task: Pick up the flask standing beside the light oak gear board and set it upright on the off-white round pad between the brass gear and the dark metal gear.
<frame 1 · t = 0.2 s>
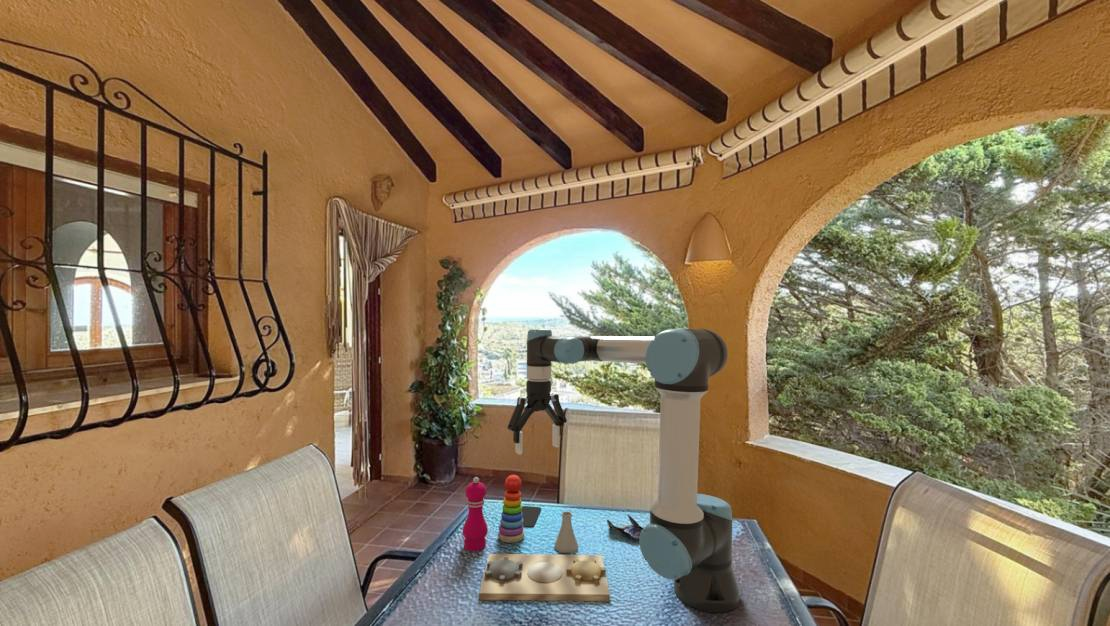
hand: (537, 450, 137), 27 cm above the table, tool pointing down, fingers open, 13 cm apart
stacking toy: (511, 538, 138), on the table
gear board: (544, 578, 116), on the table
pepper mill: (474, 546, 132), on the table
flask: (566, 548, 132), on the table
snack package: (628, 535, 142), on the table
phone: (527, 518, 153), on the table
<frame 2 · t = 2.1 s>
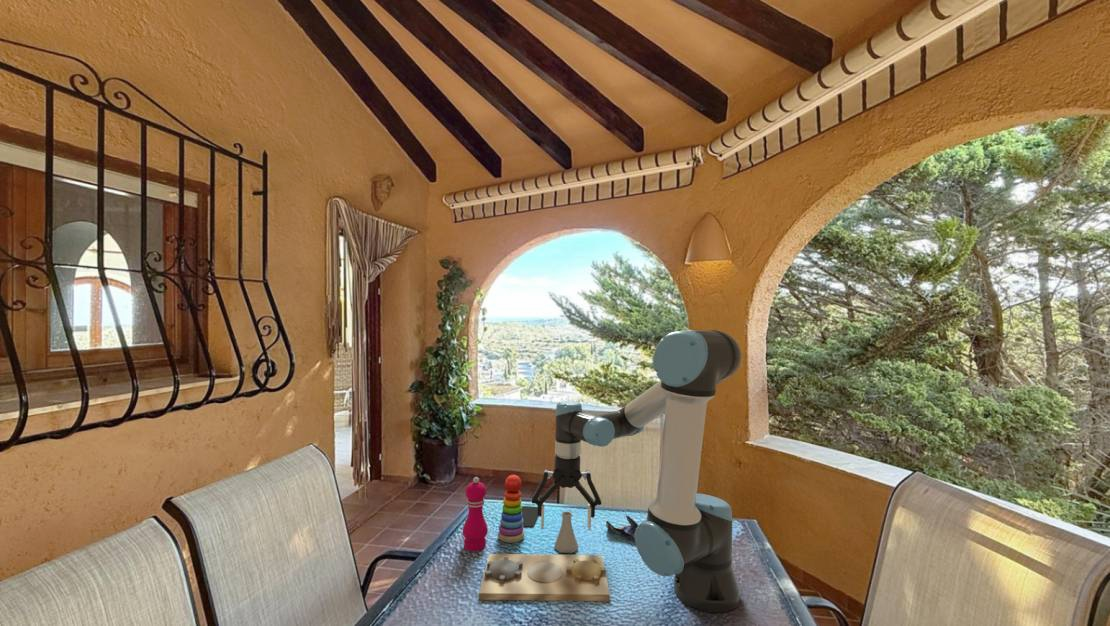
hand: (565, 527, 133), 6 cm above the table, tool pointing down, fingers open, 13 cm apart
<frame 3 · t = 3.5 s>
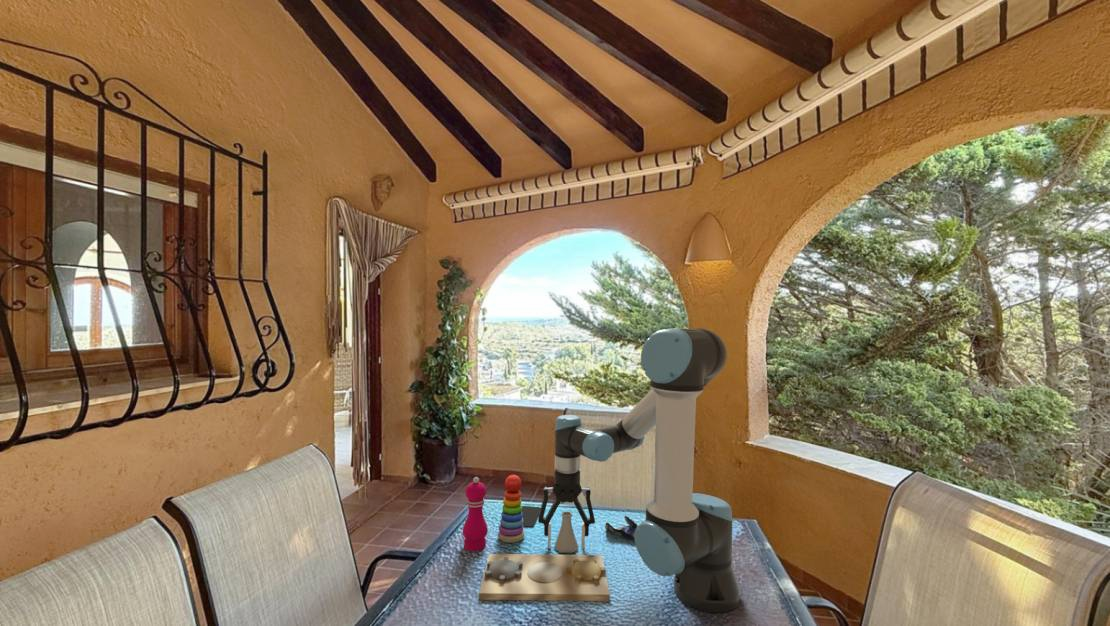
hand: (566, 546, 132), 0 cm above the table, tool pointing down, fingers open, 9 cm apart
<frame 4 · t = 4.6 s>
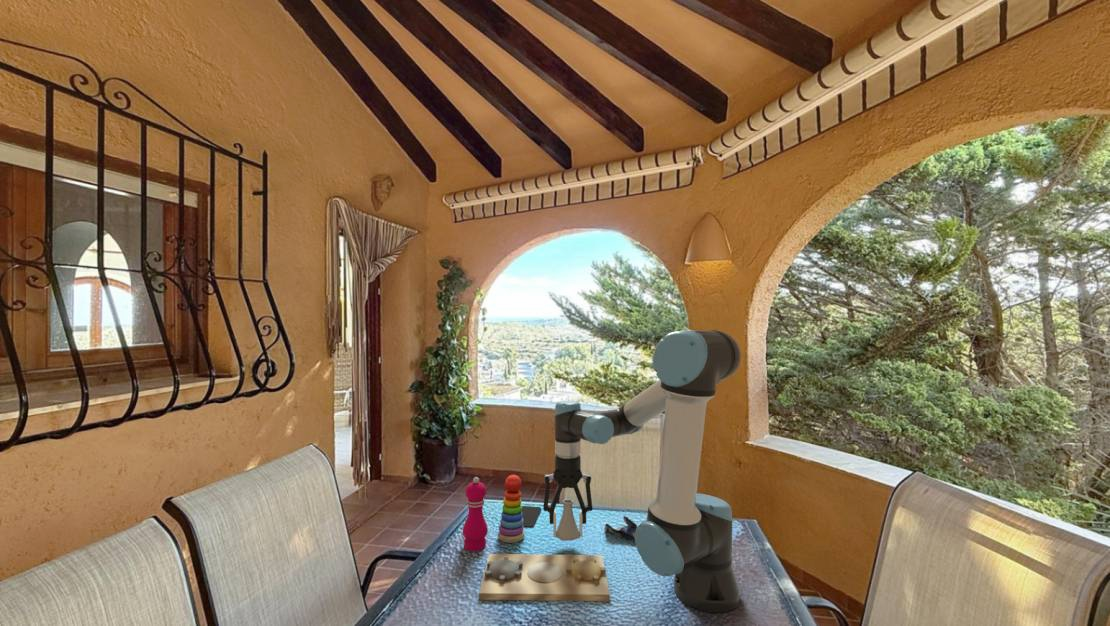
hand: (567, 534, 132), 4 cm above the table, tool pointing down, fingers closed on flask, 7 cm apart
flask: (567, 536, 132), point 3 cm above the table, touching gripper
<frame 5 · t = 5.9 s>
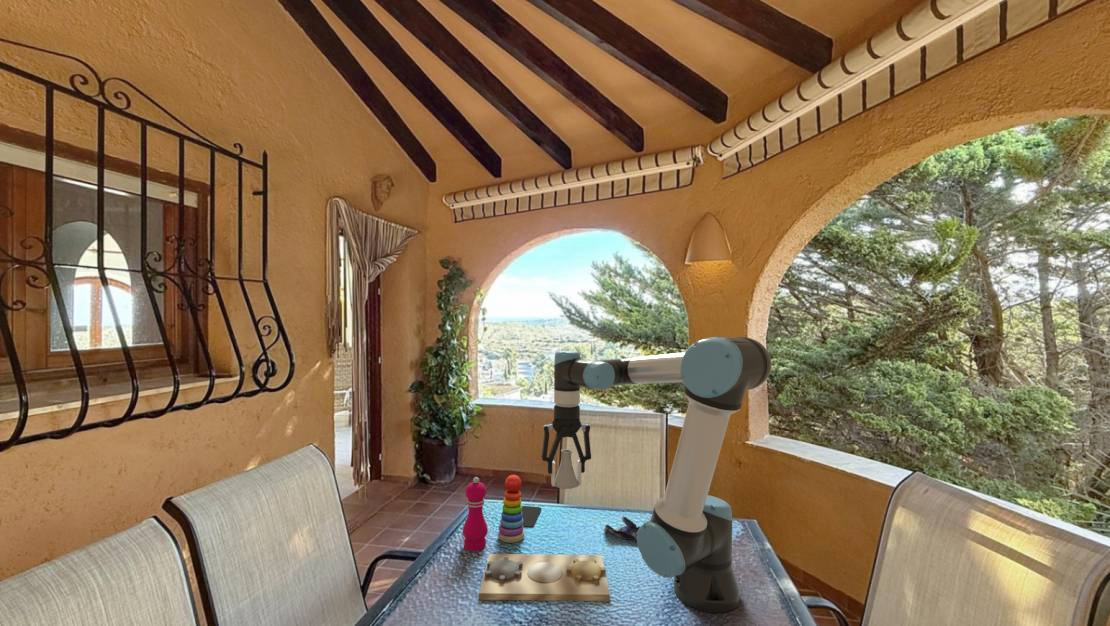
hand: (566, 484, 131), 19 cm above the table, tool pointing down, fingers closed on flask, 7 cm apart
flask: (566, 486, 131), point 18 cm above the table, touching gripper
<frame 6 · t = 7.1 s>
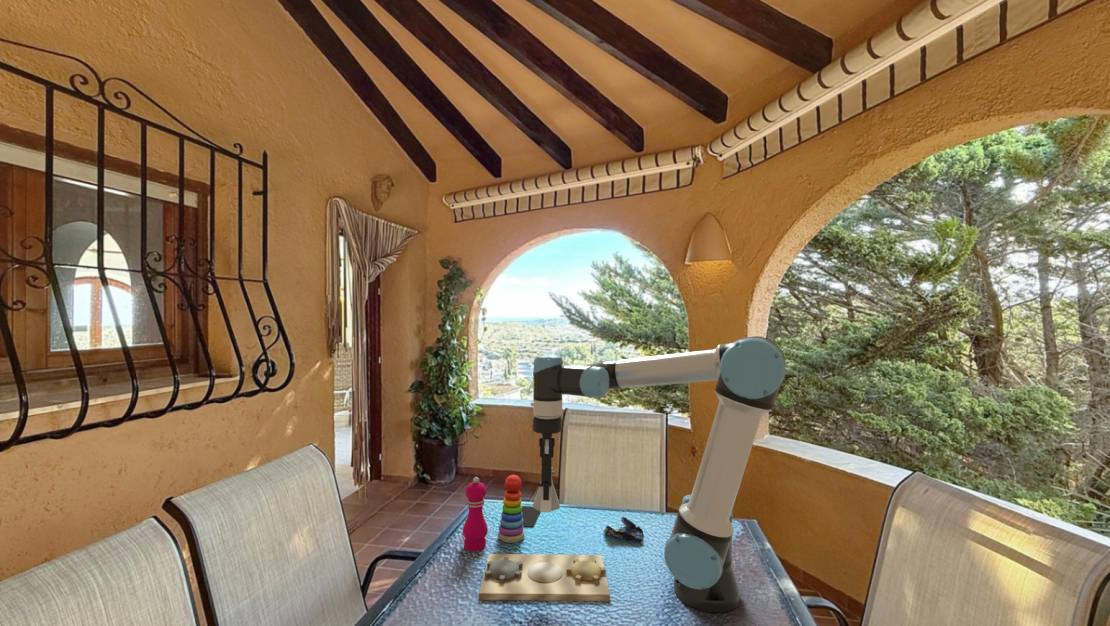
hand: (546, 505, 117), 19 cm above the table, tool pointing down, fingers closed on flask, 7 cm apart
flask: (546, 507, 117), point 18 cm above the table, touching gripper
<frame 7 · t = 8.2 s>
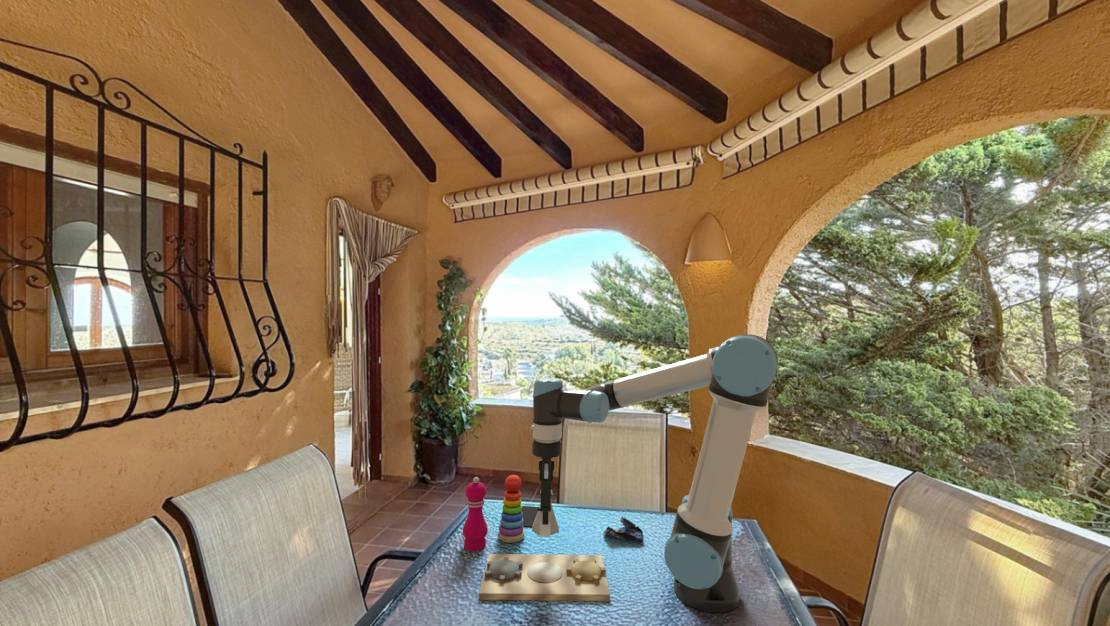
hand: (545, 528, 117), 13 cm above the table, tool pointing down, fingers closed on flask, 7 cm apart
flask: (545, 530, 117), point 12 cm above the table, touching gripper
when the fingers open (3 cm above the table, at t = 10.6 s): flask drops 1 cm, resting on gear board.
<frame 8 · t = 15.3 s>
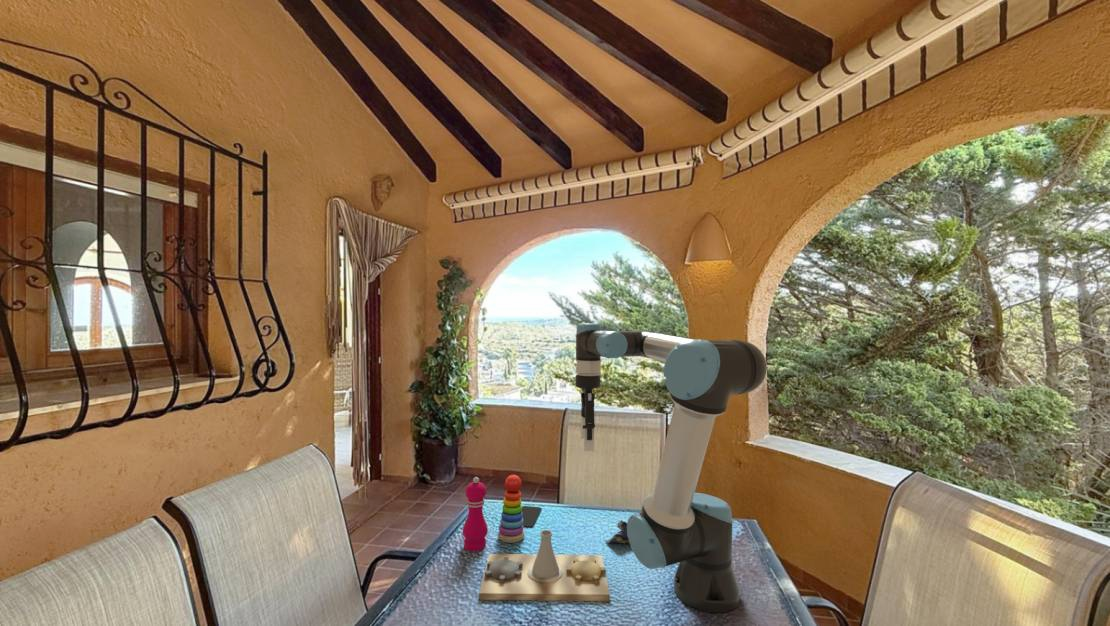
hand: (587, 444, 138), 29 cm above the table, tool pointing down, fingers open, 13 cm apart
flask: (545, 572, 116), point 2 cm above the table, touching gear board
snack package: (626, 542, 137), on the table
everything else where it was.
at the end: flask 0.2 cm off-centre on the gear board, point 1.6 cm above the gear board's base; flask tilted 0°; the gripper is holding nothing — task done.
